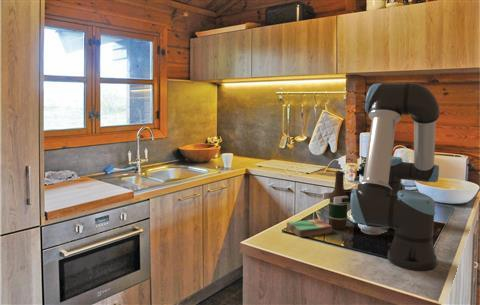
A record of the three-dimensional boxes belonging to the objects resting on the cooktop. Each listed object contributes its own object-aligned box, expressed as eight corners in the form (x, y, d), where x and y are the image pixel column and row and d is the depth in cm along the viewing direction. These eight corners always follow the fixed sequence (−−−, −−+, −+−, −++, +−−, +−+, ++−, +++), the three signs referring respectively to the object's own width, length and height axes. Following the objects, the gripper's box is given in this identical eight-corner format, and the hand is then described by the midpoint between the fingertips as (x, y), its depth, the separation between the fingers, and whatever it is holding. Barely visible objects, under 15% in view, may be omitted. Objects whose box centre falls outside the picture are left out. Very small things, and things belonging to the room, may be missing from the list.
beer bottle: (333, 222, 172) (335, 169, 168) (349, 226, 167) (352, 171, 163) (324, 227, 166) (326, 171, 162) (341, 231, 161) (344, 174, 157)
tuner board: (332, 232, 160) (332, 226, 159) (299, 237, 154) (300, 230, 154) (317, 224, 170) (317, 218, 169) (286, 228, 164) (286, 222, 164)
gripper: (389, 208, 162) (342, 213, 154) (358, 196, 181) (315, 201, 172) (390, 190, 161) (343, 195, 153) (358, 180, 180) (315, 184, 171)
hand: (328, 198), depth 163 cm, fingers closed on beer bottle, 7 cm apart
